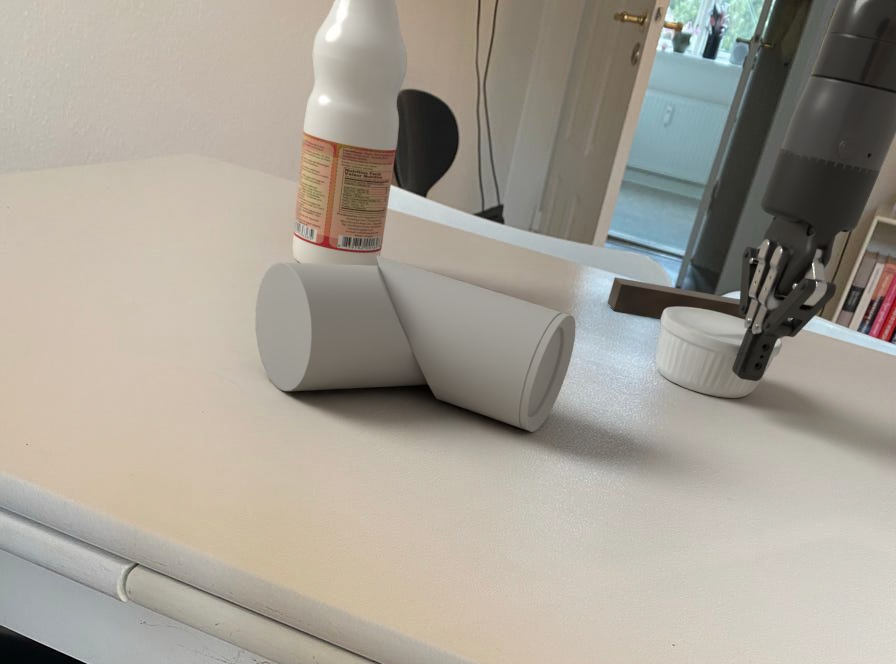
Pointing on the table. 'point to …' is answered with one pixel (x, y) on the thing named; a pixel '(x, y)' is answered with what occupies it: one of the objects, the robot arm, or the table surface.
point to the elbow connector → (412, 337)
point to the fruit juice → (350, 134)
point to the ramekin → (704, 351)
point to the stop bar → (665, 299)
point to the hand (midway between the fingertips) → (745, 376)
